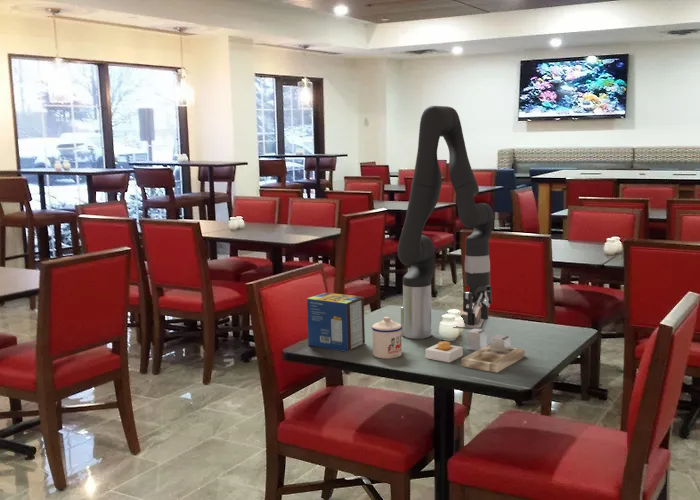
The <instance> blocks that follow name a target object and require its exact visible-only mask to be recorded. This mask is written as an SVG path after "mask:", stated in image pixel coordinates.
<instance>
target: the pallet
mask: <svg viewBox="0 0 700 500" xmlns="http://www.w3.org/2000/svg"><path fill="white" fill-rule="evenodd" d="M525 352H526V351H525V349H524V348H518V347H512V346H511V352H510V353H508V354H506V355H505V354H499V353H493V352H490V344H487V346H485V347H483V348H481V349H479V350H478V351H473V352H472V353H470V354H468V355H466V356H464V357H462V358H461V359H460V360H461V361H460V362H461V367H465V368H471V369H476V370H480V371H485V372H486V371H487V372H491V373H499V372H501V371H503V370H504V369H507V368H508V367H509V366H511V365H513V364H515V363H516V362H518V361H519V360H522V359H523V358H524V357H525V354H526V353H525Z"/></svg>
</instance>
